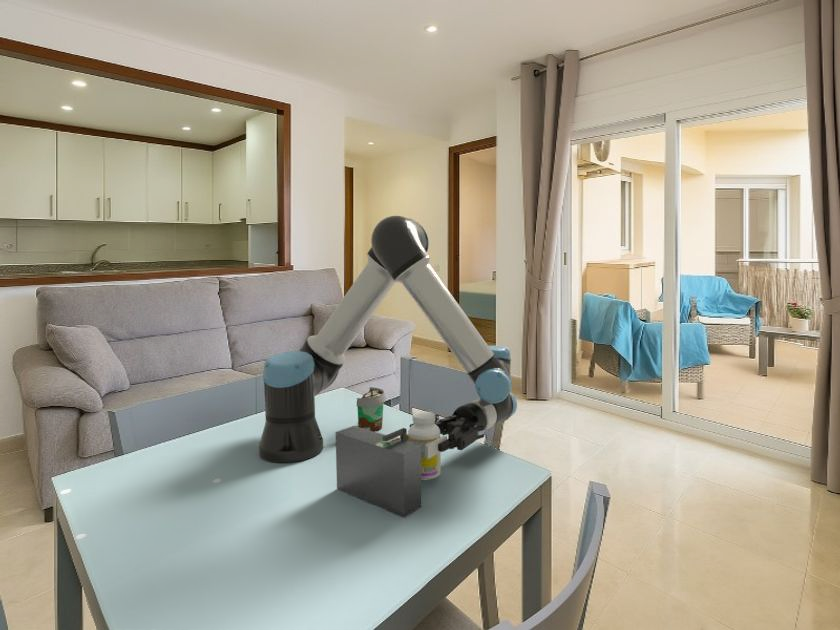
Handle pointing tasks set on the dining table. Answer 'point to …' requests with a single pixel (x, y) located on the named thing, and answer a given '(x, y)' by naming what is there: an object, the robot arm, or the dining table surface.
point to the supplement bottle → (426, 442)
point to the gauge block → (379, 470)
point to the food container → (371, 409)
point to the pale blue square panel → (396, 435)
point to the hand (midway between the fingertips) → (412, 447)
